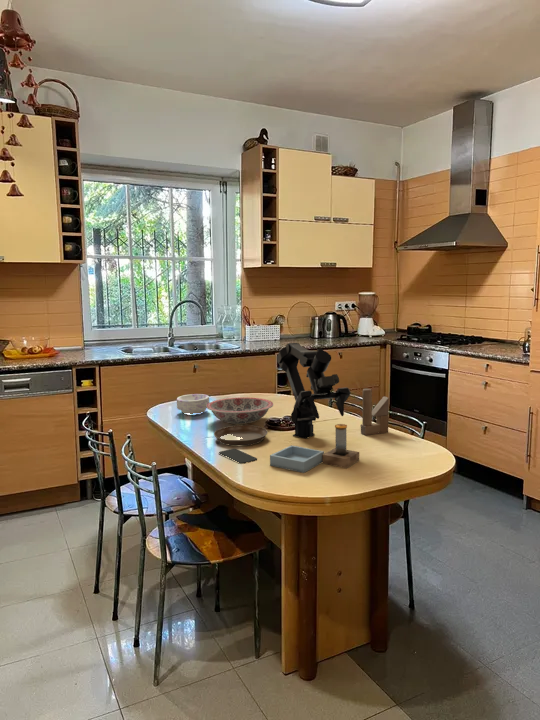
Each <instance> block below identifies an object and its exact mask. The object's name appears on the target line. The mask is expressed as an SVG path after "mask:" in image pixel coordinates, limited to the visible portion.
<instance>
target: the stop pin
mask: <svg viewBox="0 0 540 720" xmlns="http://www.w3.org/2000/svg"><path fill="white" fill-rule="evenodd" d="M334 428H335V448H336V455H340V456H345V455H346V450H347V428H348V425H347V424H345V423H337V424H334Z"/></svg>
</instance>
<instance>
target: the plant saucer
mask: <svg viewBox="0 0 540 720" xmlns="http://www.w3.org/2000/svg"><path fill="white" fill-rule="evenodd" d="M227 434H231V435H232V434H233V436H236V437H240V438H241V437H242V438H243V439H240V440H225V439H221V438H220V437H221V436H224V435H227ZM213 435H214V438H215V439H216V440H217V441H218V442H220V443H221V444H223V443H224V444H223V445H226V444H229V445H228V446H231V445H246V446H252V445H255V444H258V442H259V443H261V442H262V441H263V440H264V439H265V438H266V436H267V435H268V430H267V429H266V428H264V427H262V426H258V425H254V424H253V425H251V424H235V425H231V426H230V425H229V426H226V427H225V426H224V427H221V428H219V429H217V430H216V431H214V434H213ZM251 444H252V445H251Z"/></svg>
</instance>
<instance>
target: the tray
mask: <svg viewBox="0 0 540 720" xmlns="http://www.w3.org/2000/svg"><path fill="white" fill-rule="evenodd" d="M323 454H325V451H324V450H318V449H313V448H309V447H302V446H297V445H289V446H287V447H284V448H283V449H281V450H278V451H276V452H274V453H272V454H269V466H271V467H275V468H281V469H284V470H289V471H293V472H298V473H302V474H304V473H306V472H308V471H310V470H312V469H313V468H315V467H317V466H318V465H320V464H323Z"/></svg>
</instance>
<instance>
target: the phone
mask: <svg viewBox="0 0 540 720" xmlns="http://www.w3.org/2000/svg"><path fill="white" fill-rule="evenodd" d="M219 453H220V454H222V455H224V456H227V457H229V458H231V459H233V460H235V461H237V462H239V463H244V464H247V463H246V462H248V463H251V461H252V462H255V460H256V461H257V460H258V458H257V457H255V456H253V455H251V454H249V453H246V452H244V451H242V450H240V449H237V448H230V449H226V450H221V451H219V452H218V454H219ZM220 454H219V455H220ZM222 455H221V456H222ZM224 456H223V457H224ZM235 461H234V462H235ZM237 462H236V463H237ZM239 463H238V464H239Z"/></svg>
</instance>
